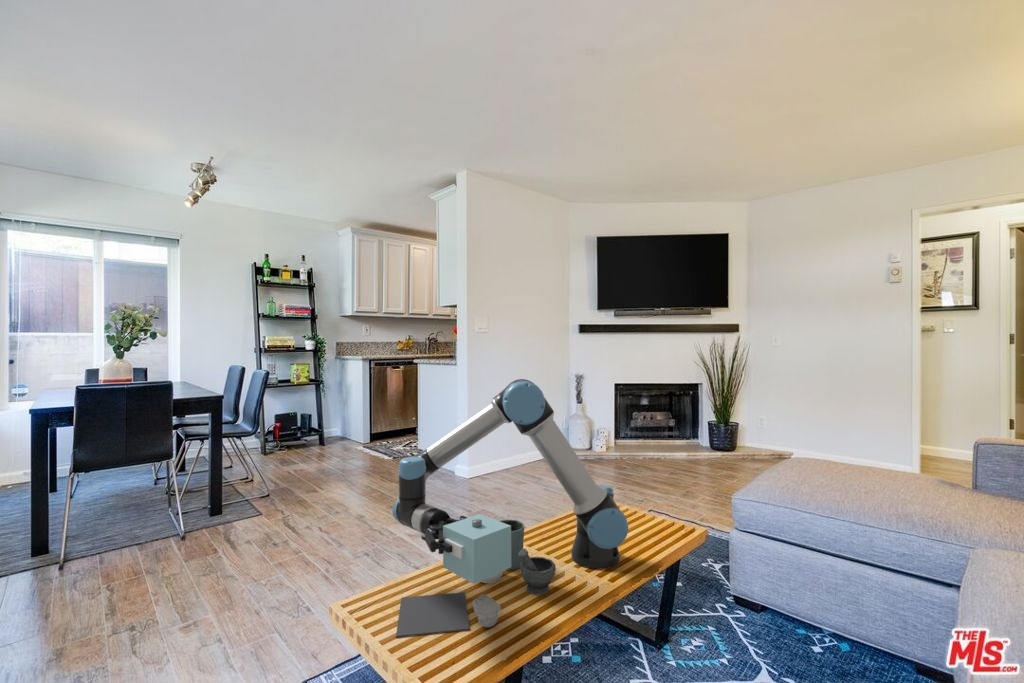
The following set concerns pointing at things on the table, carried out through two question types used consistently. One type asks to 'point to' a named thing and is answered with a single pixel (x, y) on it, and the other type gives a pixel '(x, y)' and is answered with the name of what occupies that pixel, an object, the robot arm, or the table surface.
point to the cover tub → (478, 547)
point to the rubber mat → (432, 614)
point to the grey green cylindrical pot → (515, 541)
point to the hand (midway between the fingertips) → (483, 544)
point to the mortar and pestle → (536, 572)
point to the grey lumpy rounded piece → (486, 610)
